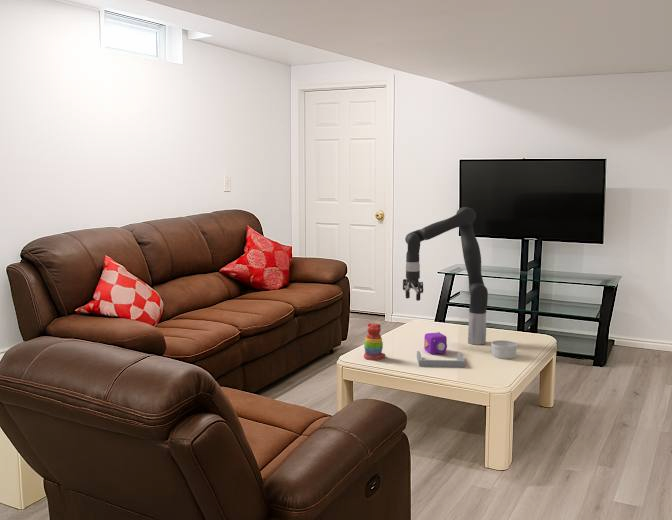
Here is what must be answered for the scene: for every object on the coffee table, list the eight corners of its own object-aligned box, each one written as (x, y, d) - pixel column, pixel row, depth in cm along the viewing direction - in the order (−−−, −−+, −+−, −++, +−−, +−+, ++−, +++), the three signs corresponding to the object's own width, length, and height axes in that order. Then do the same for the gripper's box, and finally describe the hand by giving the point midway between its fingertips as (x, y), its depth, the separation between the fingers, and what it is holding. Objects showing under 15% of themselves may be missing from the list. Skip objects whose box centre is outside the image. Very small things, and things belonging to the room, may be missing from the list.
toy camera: (435, 357, 357) (436, 338, 356) (420, 350, 369) (421, 332, 368) (453, 354, 362) (453, 335, 361) (437, 348, 374) (438, 330, 373)
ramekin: (499, 351, 369) (500, 338, 369) (522, 356, 360) (522, 343, 359) (485, 356, 360) (486, 343, 359) (508, 361, 351) (508, 348, 350)
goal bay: (460, 357, 356) (460, 352, 356) (464, 367, 340) (464, 361, 339) (416, 356, 357) (416, 351, 357) (419, 366, 341) (419, 360, 340)
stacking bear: (386, 356, 358) (387, 322, 356) (381, 361, 349) (381, 326, 346) (366, 354, 362) (366, 320, 359) (360, 359, 352) (360, 324, 350)
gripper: (426, 270, 375) (426, 300, 377) (409, 267, 386) (409, 296, 389) (416, 272, 371) (416, 302, 373) (398, 269, 382) (399, 298, 384)
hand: (412, 299), depth 381 cm, fingers open, 8 cm apart
